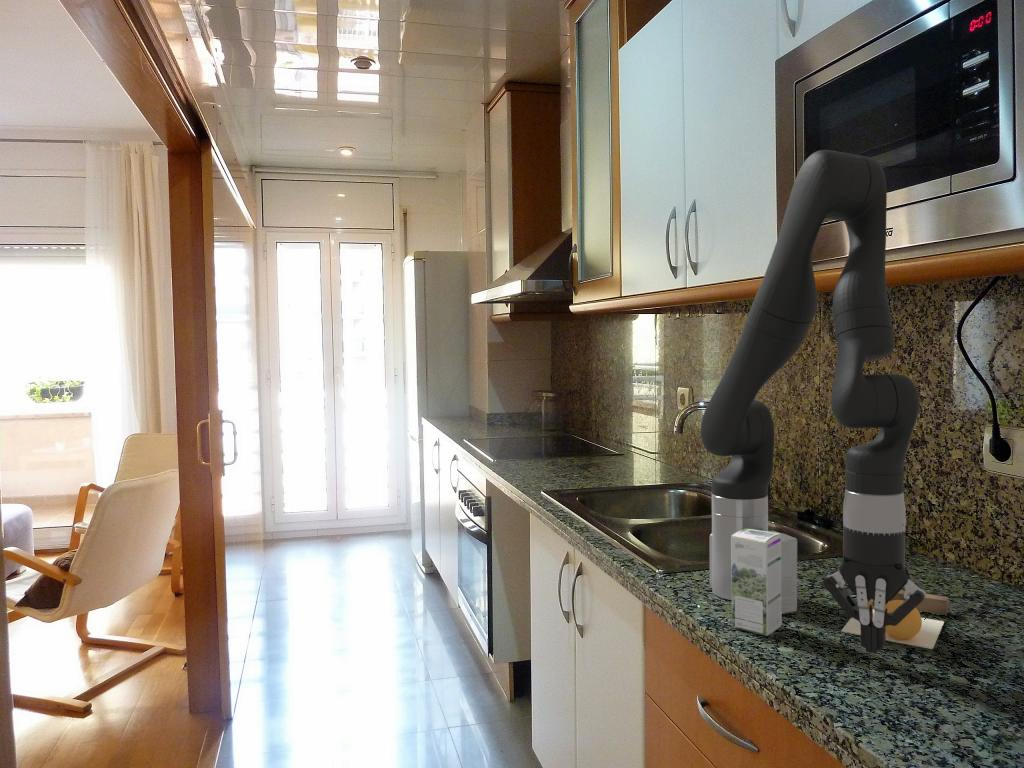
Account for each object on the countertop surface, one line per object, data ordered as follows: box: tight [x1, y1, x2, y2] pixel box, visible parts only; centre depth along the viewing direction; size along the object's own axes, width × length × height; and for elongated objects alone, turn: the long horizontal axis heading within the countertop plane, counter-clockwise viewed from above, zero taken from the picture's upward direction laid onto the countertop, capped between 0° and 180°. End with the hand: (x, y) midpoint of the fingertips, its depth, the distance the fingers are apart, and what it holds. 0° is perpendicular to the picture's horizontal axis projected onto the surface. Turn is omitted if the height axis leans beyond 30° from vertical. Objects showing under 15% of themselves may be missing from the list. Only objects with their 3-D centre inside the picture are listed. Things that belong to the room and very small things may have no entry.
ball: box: [886, 600, 922, 639], centre depth 112 cm, size 6×6×6 cm
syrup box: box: [731, 529, 783, 637], centre depth 117 cm, size 6×6×14 cm
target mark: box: [841, 608, 945, 650], centre depth 116 cm, size 12×12×1 cm
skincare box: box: [766, 530, 798, 615], centre depth 125 cm, size 6×4×12 cm
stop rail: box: [872, 589, 949, 617], centre depth 124 cm, size 12×2×2 cm, turn 54°
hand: (873, 651), depth 104 cm, fingers closed
